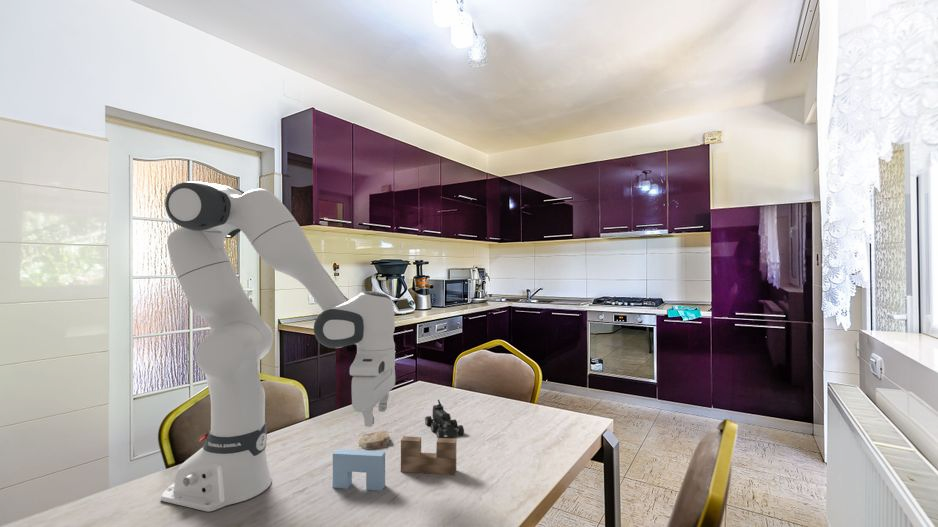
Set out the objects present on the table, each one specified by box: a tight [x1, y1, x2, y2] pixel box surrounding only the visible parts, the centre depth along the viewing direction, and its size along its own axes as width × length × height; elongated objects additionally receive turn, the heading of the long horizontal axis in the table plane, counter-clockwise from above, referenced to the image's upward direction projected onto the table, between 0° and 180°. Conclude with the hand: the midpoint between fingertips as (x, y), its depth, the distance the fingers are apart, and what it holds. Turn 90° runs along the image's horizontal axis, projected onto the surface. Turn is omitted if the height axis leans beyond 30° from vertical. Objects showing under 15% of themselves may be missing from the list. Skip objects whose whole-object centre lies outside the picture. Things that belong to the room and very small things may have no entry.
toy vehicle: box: [424, 399, 465, 439], centre depth 130 cm, size 8×15×9 cm, turn 24°
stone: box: [357, 430, 391, 450], centre depth 119 cm, size 9×6×3 cm
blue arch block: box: [332, 448, 386, 492], centre depth 96 cm, size 12×2×8 cm, turn 84°
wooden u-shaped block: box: [400, 435, 457, 476], centre depth 103 cm, size 14×2×8 cm, turn 84°
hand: (376, 417), depth 95 cm, fingers open, 8 cm apart
